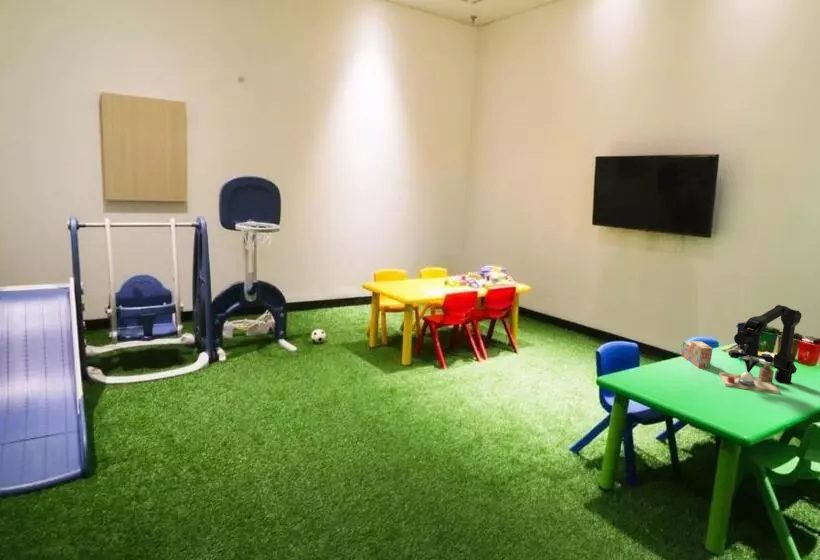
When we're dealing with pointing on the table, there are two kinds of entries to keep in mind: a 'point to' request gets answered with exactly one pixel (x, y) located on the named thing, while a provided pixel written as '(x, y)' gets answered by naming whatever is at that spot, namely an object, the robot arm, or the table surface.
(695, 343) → the stack of blocks
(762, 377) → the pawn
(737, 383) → the game board
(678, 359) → the table surface
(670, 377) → the table surface
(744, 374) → the dome
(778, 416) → the table surface
